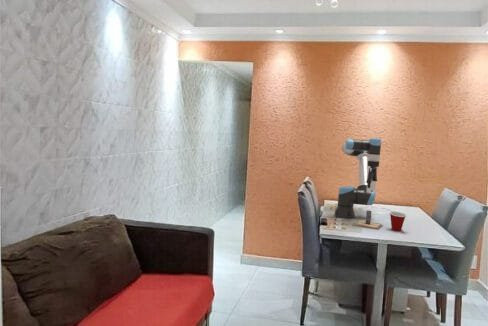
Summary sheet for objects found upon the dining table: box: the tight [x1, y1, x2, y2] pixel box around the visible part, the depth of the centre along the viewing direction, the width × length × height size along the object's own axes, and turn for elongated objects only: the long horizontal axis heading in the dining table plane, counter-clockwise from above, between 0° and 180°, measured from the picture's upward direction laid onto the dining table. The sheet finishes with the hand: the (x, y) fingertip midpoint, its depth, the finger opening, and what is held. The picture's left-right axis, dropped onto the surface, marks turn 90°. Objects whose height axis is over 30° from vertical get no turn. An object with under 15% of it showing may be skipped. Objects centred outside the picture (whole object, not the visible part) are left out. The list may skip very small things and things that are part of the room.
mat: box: [351, 220, 384, 231], centre depth 292 cm, size 18×18×1 cm
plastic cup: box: [389, 211, 407, 232], centre depth 282 cm, size 11×11×12 cm
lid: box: [353, 210, 382, 230], centre depth 291 cm, size 15×15×10 cm
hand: (370, 191), depth 290 cm, fingers open, 13 cm apart
